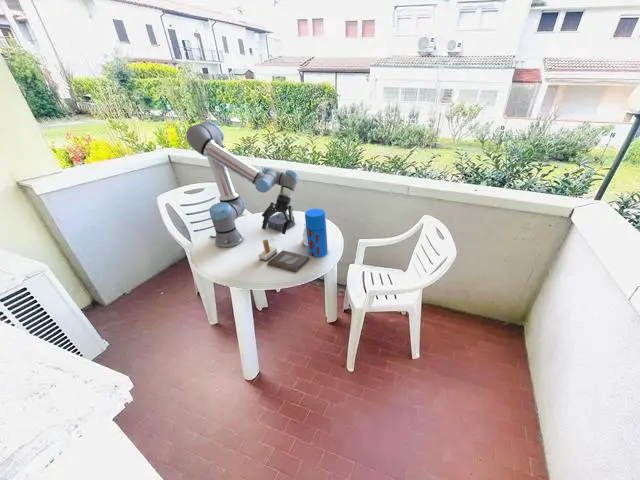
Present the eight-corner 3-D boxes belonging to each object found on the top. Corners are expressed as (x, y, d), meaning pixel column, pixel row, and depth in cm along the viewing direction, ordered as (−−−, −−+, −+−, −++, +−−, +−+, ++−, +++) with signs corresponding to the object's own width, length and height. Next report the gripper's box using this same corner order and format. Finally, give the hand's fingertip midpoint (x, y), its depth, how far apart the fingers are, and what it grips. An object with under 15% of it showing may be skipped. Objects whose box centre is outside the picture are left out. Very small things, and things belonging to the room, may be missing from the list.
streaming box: (296, 224, 195) (295, 217, 192) (281, 232, 185) (279, 224, 182) (282, 218, 201) (281, 212, 199) (266, 226, 192) (265, 219, 189)
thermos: (318, 245, 170) (315, 206, 156) (331, 251, 164) (329, 211, 150) (305, 253, 163) (300, 213, 149) (318, 259, 157) (314, 218, 143)
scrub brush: (266, 261, 156) (263, 245, 150) (259, 259, 157) (255, 244, 152) (277, 253, 163) (274, 237, 158) (270, 251, 165) (267, 235, 159)
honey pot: (326, 245, 171) (324, 217, 161) (305, 248, 168) (301, 220, 157) (321, 235, 181) (319, 209, 171) (301, 238, 178) (298, 211, 167)
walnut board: (268, 264, 153) (267, 262, 153) (283, 252, 164) (282, 249, 163) (295, 272, 147) (295, 269, 147) (309, 259, 158) (309, 256, 157)
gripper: (306, 202, 161) (295, 237, 158) (270, 196, 169) (259, 229, 166) (300, 197, 154) (288, 233, 151) (263, 191, 162) (251, 225, 159)
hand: (273, 231), depth 159 cm, fingers open, 13 cm apart
